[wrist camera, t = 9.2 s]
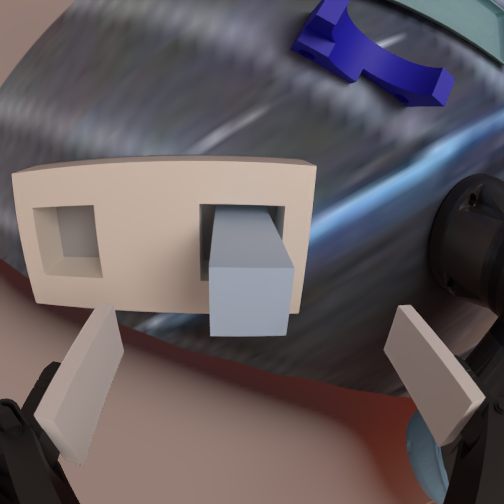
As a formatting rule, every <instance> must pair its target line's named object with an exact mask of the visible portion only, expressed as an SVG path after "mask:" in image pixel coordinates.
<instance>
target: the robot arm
mask: <svg viewBox="0 0 504 504" xmlns="http://www.w3.org/2000/svg"><path fill="white" fill-rule="evenodd" d="M429 261H430V267H431V270H432V273H433V276H434V278H435V280H436V281H437V282H438V284H439V285H440V286H441V287H443V288H444V289H445V290H446V291H447V292H448V293H449V294H451V295H452V296H454V297H456V298H458V299H462V300H465V301H468V302H471V303H474V304H477V305H480V306H483V307H486V308H489V309H490V310H491V311H493V312H494V313H495V314H496V315H497V316H498V318H497V320H496V321H495V323H494V324H493V325H492V327H491V328H490V329H489V331H488V332H487V333H486V334H485V336H484V337H483V338H482V340H481V341H480V342H479V343H478V345H477V346H476V347H475V348H474V350H473V351H472V352H471V353H470V354H469V356H468V357H467V358H466V359H465V360H462V359H461V358H460V357H458V356H457V355H453V354H452V353H451V352H450V351H449V349H448V348H447V347H446V346H445V344H444V343H443V342H442V341H441V340H440V338H439V337H438V336H437V335H436V334H435V332H434V331H433V330H432V329H431V328H430V326H429V325H428V324H427V323H426V322H425V321H424V320H423V318H422V317H421V316H420V315H419V314H418V313H417V311H416V310H415V309H414V308H413V307H412V306H411V305H399V306H398V308H397V311H396V314H395V317H394V320H393V324H392V327H391V330H390V332H389V335H388V338H387V341H386V344H385V347H384V352H385V353H386V355H387V357H388V358H389V360H390V362H391V363H392V365H393V367H394V368H395V370H396V372H397V373H398V375H399V377H400V378H401V380H402V382H403V384H404V385H405V387H406V389H407V390H408V392H409V394H410V396H411V397H412V399H413V401H414V402H415V404H416V406H417V408H418V410H417V411H416V412H415V413H414V414H413V415H412V417H411V419H410V421H409V423H408V426H407V431H406V447H407V451H408V457H409V461H410V464H411V467H412V470H413V472H414V475H415V477H416V479H417V481H418V483H419V484H420V486H421V487H422V489H423V490H424V492H425V493H426V494H427V495H428V496H429V497H430V498H431V499H432V500H433V501H435V502H436V503H438V504H504V181H502V180H500V179H498V178H495V177H492V176H489V175H485V174H475V175H472V176H469V177H467V178H465V179H464V180H462V181H461V182H460V183H458V184H457V185H456V186H455V187H454V188H453V189H452V191H451V192H450V193H449V194H448V196H447V197H446V199H445V200H444V202H443V204H442V206H441V208H440V210H439V212H438V214H437V216H436V219H435V222H434V225H433V229H432V233H431V238H430V245H429ZM123 353H124V350H123V345H122V341H121V337H120V333H119V328H118V323H117V319H116V314H115V309H114V304H104V303H98V305H97V306H96V308H95V309H94V311H93V312H92V314H91V315H90V317H89V318H88V320H87V322H86V323H85V325H84V326H83V328H82V330H81V331H80V333H79V335H78V336H77V338H76V339H75V341H74V343H73V344H72V346H71V348H70V349H69V351H68V353H67V354H66V356H65V358H64V360H63V361H62V363H59V362H54V361H53V362H52V363H51V364H49V365H48V366H47V367H46V368H45V369H44V370H43V372H42V373H41V375H40V377H39V380H37V382H36V383H35V385H34V388H33V389H32V390H31V392H30V394H29V396H28V398H27V399H26V401H25V403H24V405H23V407H22V409H20V408H19V406H18V405H17V403H16V402H14V401H13V400H11V399H1V400H0V504H80V503H79V501H78V499H77V497H76V496H75V494H74V492H73V490H72V488H71V486H70V484H69V482H68V480H67V478H66V476H65V474H64V471H63V469H62V467H61V465H60V463H59V462H58V460H57V459H58V457H59V453H60V454H61V455H62V456H63V457H64V459H65V460H66V461H69V462H73V463H76V464H80V465H84V464H85V461H86V458H87V454H88V451H89V448H90V445H91V442H92V439H93V436H94V433H95V429H96V427H97V424H98V421H99V418H100V415H101V412H102V409H103V406H104V403H105V400H106V398H107V395H108V392H109V390H110V386H111V384H112V382H113V379H114V376H115V373H116V371H117V368H118V366H119V363H120V361H121V358H122V356H123Z"/></svg>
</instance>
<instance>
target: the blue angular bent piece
mask: <svg viewBox="0 0 504 504" xmlns="http://www.w3.org/2000/svg"><path fill="white" fill-rule="evenodd" d="M349 1H350V0H322V1H321V2H320V3H319V4H318V5H317V6H316V8H315V9H314V10H313V11H312V13H311V14H310V16H309V18H308V19H307V21H306V23H305V24H304V26H303V28H302V29H301V31H300V33H299V35H298V36H297V38H296V40H295V42H294V43H293V45H292V47H291V50H293V51H295V52H297V53H298V54H300V55H302V56H304V57H306V58H308V59H310V60H312V61H313V62H315V63H317V64H319V65H321V66H322V67H324V68H326V69H327V70H329V71H331V72H333V73H334V74H336V75H338V76H339V77H341V78H343V79H344V80H346V81H347V82H349V83H354V82H356V81H357V80H358V78H359V76H360V74H363V75H364V76H366V77H367V78H369V79H370V80H372V81H373V82H375V83H376V84H378V85H379V86H380V87H382V88H383V89H385V90H386V91H387V92H389V93H390V94H391V95H393V96H394V97H395V98H397V99H398V100H399V101H401V102H402V103H403V104H404V105H406V106H407V107H414V106H445V104H446V101H447V99H448V96H449V94H450V91H451V89H452V86H453V84H454V81H455V78H454V77H453V76H451V75H450V74H449V73H448V72H447V71H446V70H445V69H444V68H431V67H426V66H421V65H418V64H415V63H412V62H409V61H407V60H404V59H402V58H400V57H398V56H396V55H394V54H392V53H390V52H388V51H386V50H385V49H383V48H381V47H380V46H378V45H377V44H375V43H374V42H373V41H371V40H370V39H369V38H367V37H366V36H365V35H364V34H363V33H362V32H361V31H360V30H359V29H358V28H357V27H356V26H355V25H354V24H353V22H352V21H351V19H350V18H349V16H348V13H347V4H348V2H349Z"/></svg>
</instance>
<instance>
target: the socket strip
mask: <svg viewBox="0 0 504 504" xmlns="http://www.w3.org/2000/svg"><path fill="white" fill-rule="evenodd" d="M316 167H317V166H315V165H313V164H311V163H308V162H306V161H304V160H302V159H296V158H281V157H264V156H240V155H151V156H128V157H111V158H98V159H86V160H75V161H65V162H56V163H48V164H41V165H38V166H34V167H31V168H28V169H25V170H22V171H19V172H16V173H13V174H12V182H13V191H14V200H15V208H16V215H17V221H18V227H19V233H20V238H21V243H22V248H23V253H24V258H25V262H26V266H27V270H28V274H29V278H30V282H31V286H32V289H33V293H34V296H35V300H36V303H41V304H51V305H61V306H71V307H82V308H96V306H97V305H98V303H104V304H114V309H115V310H124V311H142V312H164V313H196V314H210V307H209V261H210V252H211V243H212V234H213V226H214V218H215V210H216V204H237V205H265V207H266V209H267V211H268V213H269V215H270V217H271V219H272V221H273V223H274V225H275V227H276V229H277V232H278V234H279V236H280V238H281V240H282V242H283V244H284V246H285V248H286V250H287V252H288V255H289V257H290V259H291V261H292V263H293V265H294V267H295V271H294V279H293V287H292V295H291V303H290V310H289V314H292V313H299V308H300V301H301V294H302V287H303V280H304V273H305V266H306V258H307V250H308V242H309V234H310V225H311V217H312V208H313V198H314V188H315V178H316Z"/></svg>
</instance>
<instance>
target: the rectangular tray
mask: <svg viewBox="0 0 504 504" xmlns="http://www.w3.org/2000/svg"><path fill="white" fill-rule="evenodd" d="M387 1H389V2H391V3H394V4H396V5H398V6H401V7H403V8H405V9H408V10H410V11H412V12H414V13H416V14H418V15H420V16H422V17H424V18H426V19H428V20H430V21H432V22H434V23H436V24H438V25H440V26H442V27H444V28H445V29H447V30H449V31H451V32H452V33H454V34H456V35H458V36H459V37H461V38H463V39H464V40H466V41H468V42H469V43H471V44H472V45H474V46H475V47H477V48H478V49H480V50H481V51H483V52H484V53H486V54H487V55H489V56H490V57H492V58H493V59H494V60H496V61H497V62H499V63H500V64H502V65H504V9H502V8H501V7H500V6H499V5H497V4H496V3H495V2H494V1H492V0H387Z"/></svg>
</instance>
